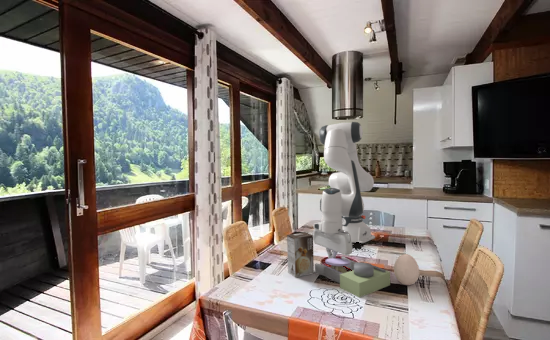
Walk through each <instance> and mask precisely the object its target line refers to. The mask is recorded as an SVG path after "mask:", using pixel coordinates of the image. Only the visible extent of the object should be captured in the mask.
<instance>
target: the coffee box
mask: <svg viewBox="0 0 550 340" xmlns="http://www.w3.org/2000/svg"><path fill="white" fill-rule="evenodd" d="M286 240H287V241H286V242H287V244H286V245H287V273H288V274H289V275H290V276H293V277H294V278H300V277H304V276H307V275H308V276H309V275H312V274H315V263H314V241H313V234H310V233H309V232H305V231H303V232H296V233H291V234H287V235H286Z"/></svg>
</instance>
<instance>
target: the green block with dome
mask: <svg viewBox="0 0 550 340" xmlns="http://www.w3.org/2000/svg"><path fill="white" fill-rule="evenodd" d="M389 286H391V271H389V270H386V269H384V268H383V267H379V266H377V265H373V264H371V263H369V262H363V261H361V262H357V263H355V264H354V270H352V271H351V270H348V271H347V272H346V273H343V274H340V283H339V288H340V289H341V290H344V291H346V292H347V293H350V294H351V295H353V296H355V297H357V298H362V297H364V296H367V295H369V294H372V293H374V292H376V291H379V290H382V289H383V288H387V287H389Z"/></svg>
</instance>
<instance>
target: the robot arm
mask: <svg viewBox="0 0 550 340" xmlns="http://www.w3.org/2000/svg"><path fill="white" fill-rule="evenodd" d="M363 133H364V131H363V127H362V125H361V123H360V122H357V121H351V122H346V121H345V122H339V123H332V124H329V125H328V124H327V125H323V126H321V127H320V129H319V132H318V137H319V142H320V143H321V144H322V145H323V150H324V151H323V161H324V162H325V164H326V165H327V166H328V167H329V168H331V169H332V170H335V171H337V172H332V173H331V174H330V175H329V178H328V185H329V187H328V188H325V189H324V190H323V191H322V195H321V198H320V201H319V211H320V212H321V219H320V220H321V221H319V222H315V223H312V224H313V225H312V227H313V233H312V235H313V244H315V245H317V246H321V247H323V248H325V251H326V254H327V259H331V258H336V257H337V255H338V254H340V255H341V254H342V255H343V256H344V255H345V256H348V255H350V254H352V253H353V243H356V242H359V244H360V243H361V244H365V243H368V242H369V241H371V240H374V239H375V238H376V236H375V235H374V234H373V233H372V232H371V231H372V229H371V228H370V226H369V225H367V224H366V223H365V222H364V221H363V220H365V219H366V215H362V214H363V213H364V211H365V204H364V200H363V197H362V193H363V192H369V191H371V190H372V189H373V187H374V184H375V179H374V177H373V175H372V174H370V173H369V172H368V171H366V170H365V169H364V168H363V167H362V166H361V164H360V161H359V158H358V150H357V143H358V142H360V141H361V140H362V138H363V136H364V135H363Z"/></svg>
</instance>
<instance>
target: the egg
mask: <svg viewBox="0 0 550 340" xmlns="http://www.w3.org/2000/svg"><path fill="white" fill-rule="evenodd" d="M393 273H394V276H395V278H396V279H397V281H398V282H399V283H400V284H402V285H404V286H411V285H413V284H415V283H417V282H418V279H419V277H420V267H419V265H418V262H417V261H416V259H415V258H414V257H413V256H412V255H410V254H409V253H403V254H401V255H399V256H397V258H396V260H395V263H394V265H393Z"/></svg>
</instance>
